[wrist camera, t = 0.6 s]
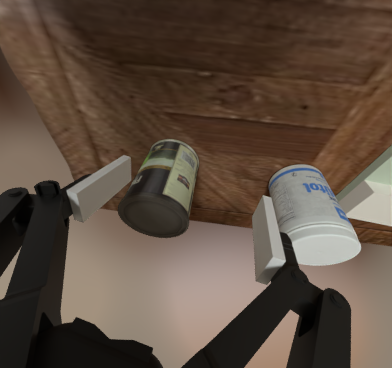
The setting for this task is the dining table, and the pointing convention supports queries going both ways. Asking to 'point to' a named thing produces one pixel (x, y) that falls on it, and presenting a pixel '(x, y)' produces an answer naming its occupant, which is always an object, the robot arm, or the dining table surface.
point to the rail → (374, 173)
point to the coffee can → (162, 191)
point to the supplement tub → (312, 216)
